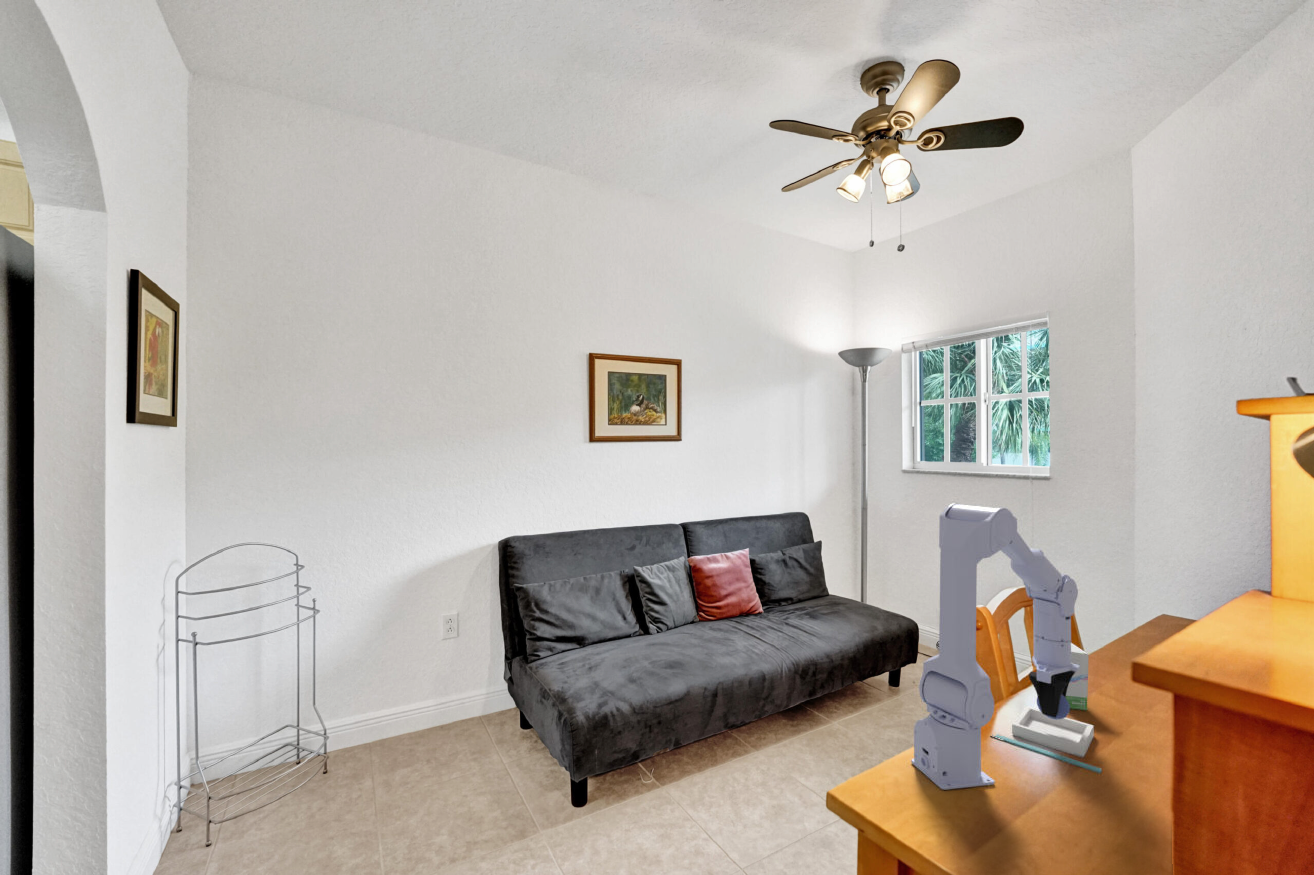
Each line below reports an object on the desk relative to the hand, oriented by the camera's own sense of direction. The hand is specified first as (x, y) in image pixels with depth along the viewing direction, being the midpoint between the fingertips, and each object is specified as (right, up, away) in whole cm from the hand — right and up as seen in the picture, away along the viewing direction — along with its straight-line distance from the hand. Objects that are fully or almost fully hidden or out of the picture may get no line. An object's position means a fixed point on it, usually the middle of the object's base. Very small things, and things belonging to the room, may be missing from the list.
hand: (1052, 710), depth 102 cm
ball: (0, +1, 0) cm, 1 cm away
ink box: (+13, -5, +15) cm, 20 cm away
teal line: (-6, -4, -6) cm, 10 cm away
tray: (0, -5, 0) cm, 5 cm away
